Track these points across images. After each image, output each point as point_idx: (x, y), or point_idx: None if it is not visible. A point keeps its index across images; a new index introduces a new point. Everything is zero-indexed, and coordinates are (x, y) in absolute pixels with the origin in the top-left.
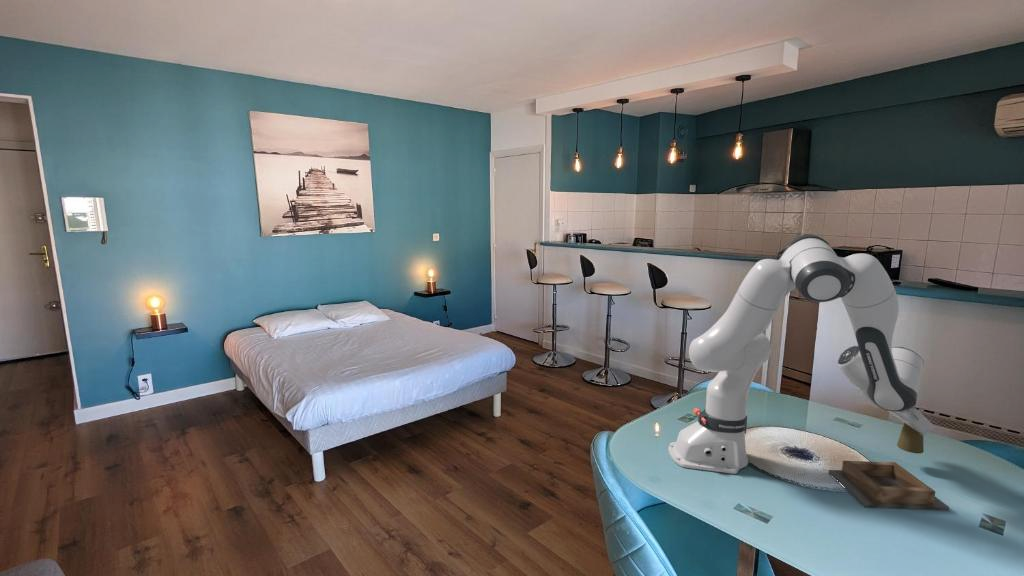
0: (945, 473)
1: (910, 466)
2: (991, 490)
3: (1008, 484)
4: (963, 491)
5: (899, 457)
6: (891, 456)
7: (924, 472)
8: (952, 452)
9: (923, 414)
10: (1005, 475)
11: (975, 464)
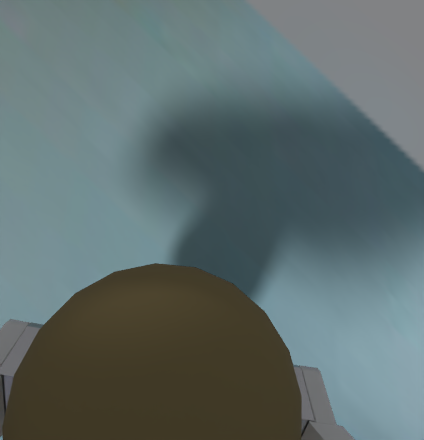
0: (225, 225)
1: None
2: (345, 167)
3: (302, 74)
4: (359, 279)
5: None
6: None
7: None
8: (66, 44)
9: (217, 316)
10: (245, 28)
11: (165, 50)
